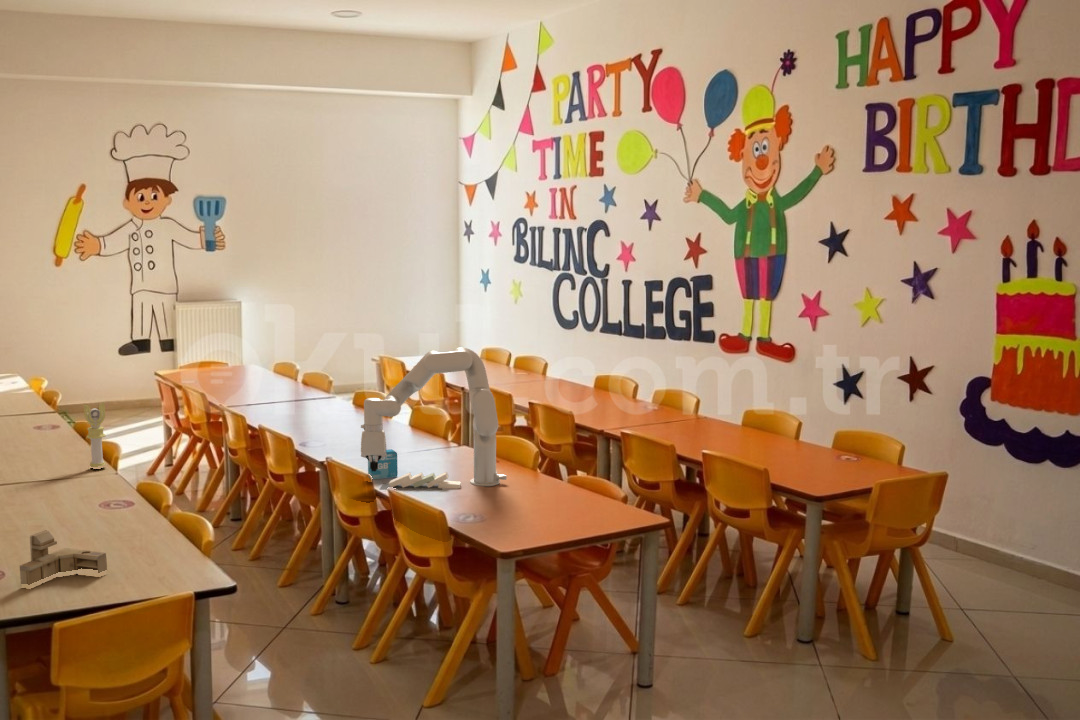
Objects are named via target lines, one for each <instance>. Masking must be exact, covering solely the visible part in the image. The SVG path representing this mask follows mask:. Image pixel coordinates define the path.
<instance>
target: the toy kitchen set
mask: <svg viewBox="0 0 1080 720" xmlns="http://www.w3.org/2000/svg"><path fill="white" fill-rule="evenodd" d="M29 544H30V546H29V547H30V561H28V562H25V563H23V564H20V565H19V576H20V585H21V584H28V585H30V584H32V583H34V582H37V581H39V580H41V579H44V578H46V577H49V576H51V575H53V574H56V573H58V572H66V571H72V570H78V569H81V568H82V569H93V570H98V573H100V572H102V571H105V570H107V571H108V565H107V564H108V562H107V553H106V552H101V551H95V550H85V549H77V548H68V547H64V548H61V549H59V550H56V551H54V552H51V553H49V548H50V547H52V546H55V545H57V544H58V542H57V540H55V536H53V534H52V533H51V532H50V531H49V530H47V529H44V530H42V531H39V532H37V533H34V534H32V535H30V536H29Z"/></svg>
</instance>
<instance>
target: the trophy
mask: <svg viewBox="0 0 1080 720" xmlns="http://www.w3.org/2000/svg"><path fill="white" fill-rule="evenodd" d="M105 405H106V403H105V402H104V401H103V402H101V403H99V404H98V408H91V406H90V405H87V404H86V403H83V411H84V412H83V413H84V418H85V420H86V421H87V423H88V424H89V425H90V427H87V428H86V430H87V431H88V432H87V433H88V434H87V435H86V438H87V439H90V450H91V462H90V464H89V465H90V466H91V467H98V466H103V465H105V464H106V461H104V458H103V457H104V455H103V442H102V441H103V438H106V434H105V433H104V430H105V427H104V426H101V424H102V423H103V422H104V420H105V418H106V406H105Z"/></svg>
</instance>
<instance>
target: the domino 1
mask: <svg viewBox="0 0 1080 720" xmlns="http://www.w3.org/2000/svg"><path fill="white" fill-rule="evenodd" d="M411 478H412V474H411V472H408V473H406V474H403V475H401V476H397V477H395V478H393V479H391V480H389V482H388V483H389V485H390V487H394V486H396V485H399V484H401V483H404V482H406V481H408V480H410V479H411Z"/></svg>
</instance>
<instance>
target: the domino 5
mask: <svg viewBox="0 0 1080 720" xmlns="http://www.w3.org/2000/svg"><path fill="white" fill-rule="evenodd" d="M461 485H462V481H454V480H444V481H442V482H440V483H438V488H442V489H460V488H461Z"/></svg>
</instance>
